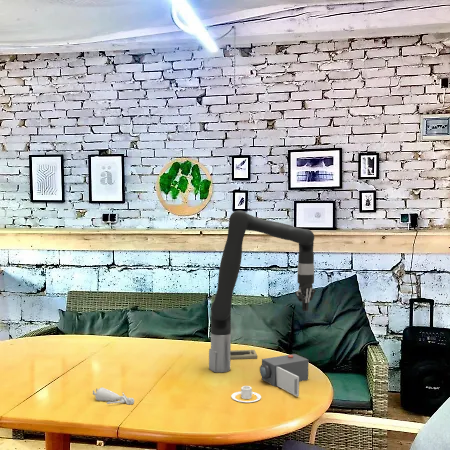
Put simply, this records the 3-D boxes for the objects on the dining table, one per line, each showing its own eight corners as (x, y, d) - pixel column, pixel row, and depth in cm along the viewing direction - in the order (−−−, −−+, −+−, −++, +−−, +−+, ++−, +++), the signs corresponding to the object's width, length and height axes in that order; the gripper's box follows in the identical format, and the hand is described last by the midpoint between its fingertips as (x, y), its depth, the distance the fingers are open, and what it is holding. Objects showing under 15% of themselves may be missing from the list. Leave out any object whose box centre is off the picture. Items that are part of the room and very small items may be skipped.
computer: (226, 360, 251) (226, 354, 251) (224, 356, 259) (224, 349, 259) (257, 359, 253) (257, 353, 253) (254, 355, 261) (254, 348, 261)
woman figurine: (103, 381, 206) (142, 391, 199) (102, 392, 206) (141, 402, 199) (85, 391, 195) (126, 401, 188) (85, 402, 195) (125, 413, 189)
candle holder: (252, 406, 194) (252, 395, 194) (225, 399, 200) (225, 389, 200) (266, 396, 204) (266, 386, 204) (240, 390, 210) (240, 380, 210)
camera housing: (269, 387, 213) (269, 364, 213) (256, 380, 222) (257, 358, 222) (308, 379, 223) (308, 357, 223) (294, 373, 232) (294, 352, 232)
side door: (274, 385, 214) (274, 366, 214) (277, 384, 215) (277, 366, 215) (295, 397, 201) (296, 377, 201) (299, 396, 202) (299, 376, 202)
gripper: (308, 271, 238) (307, 307, 238) (290, 273, 229) (289, 311, 229) (321, 272, 232) (320, 310, 233) (303, 275, 223) (302, 314, 224)
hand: (305, 310), depth 231 cm, fingers closed
